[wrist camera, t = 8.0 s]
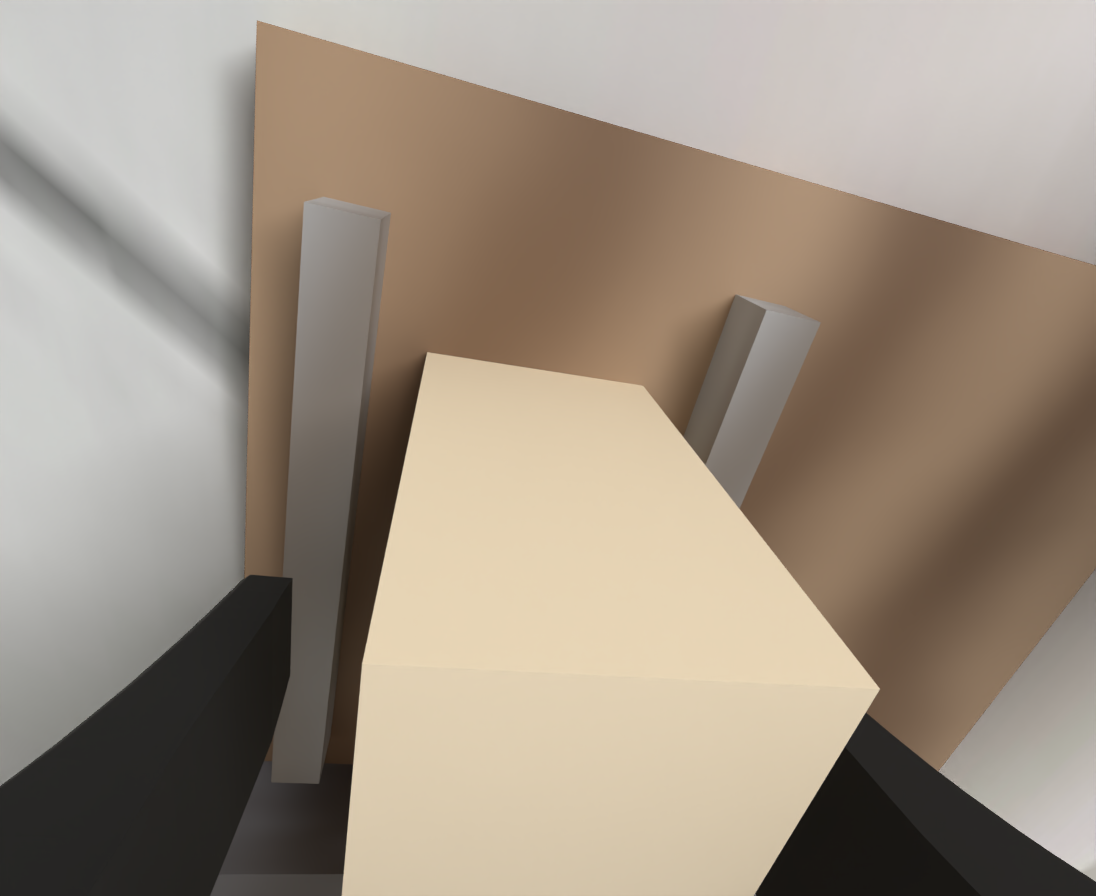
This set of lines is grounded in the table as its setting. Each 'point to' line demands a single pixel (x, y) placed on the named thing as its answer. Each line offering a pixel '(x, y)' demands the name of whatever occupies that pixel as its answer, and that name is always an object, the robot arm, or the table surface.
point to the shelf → (666, 373)
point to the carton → (581, 658)
